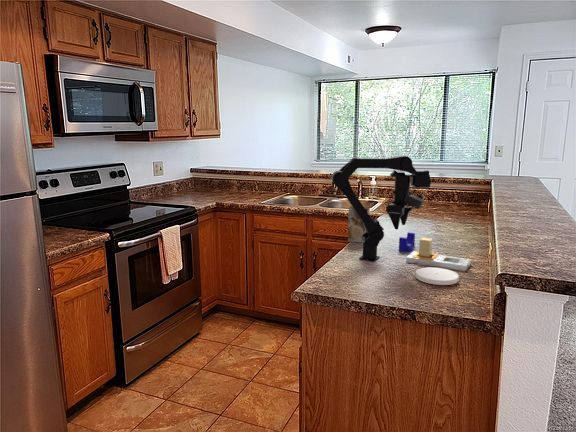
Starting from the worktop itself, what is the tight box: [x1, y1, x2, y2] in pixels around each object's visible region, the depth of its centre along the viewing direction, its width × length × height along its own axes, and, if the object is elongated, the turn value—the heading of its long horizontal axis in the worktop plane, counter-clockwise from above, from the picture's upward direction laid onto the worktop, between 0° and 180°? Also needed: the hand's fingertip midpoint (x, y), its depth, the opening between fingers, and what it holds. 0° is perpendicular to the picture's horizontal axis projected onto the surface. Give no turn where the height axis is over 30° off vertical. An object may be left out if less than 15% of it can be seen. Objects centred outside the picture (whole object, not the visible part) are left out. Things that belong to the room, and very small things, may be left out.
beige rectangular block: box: [418, 237, 434, 258], centre depth 170 cm, size 4×4×9 cm
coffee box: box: [347, 205, 370, 244], centre depth 201 cm, size 9×6×16 cm
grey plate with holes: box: [405, 250, 472, 272], centre depth 168 cm, size 10×22×2 cm, turn 58°
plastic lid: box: [415, 266, 460, 286], centre depth 149 cm, size 14×14×2 cm
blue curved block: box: [398, 231, 416, 253], centre depth 189 cm, size 12×4×6 cm, turn 146°
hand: (400, 227), depth 171 cm, fingers open, 9 cm apart
